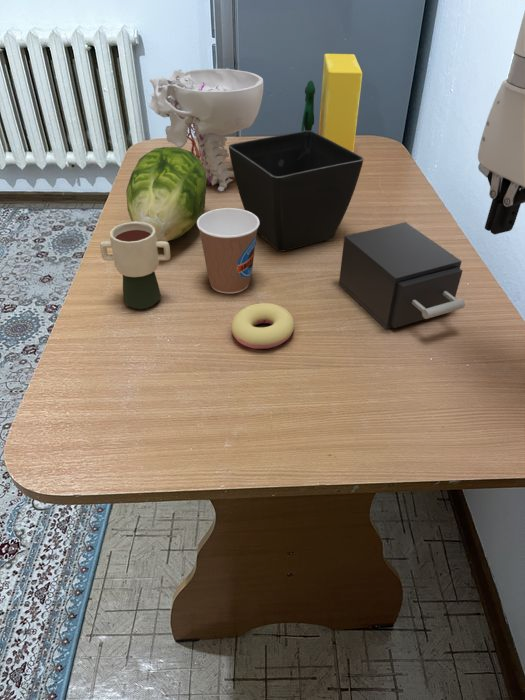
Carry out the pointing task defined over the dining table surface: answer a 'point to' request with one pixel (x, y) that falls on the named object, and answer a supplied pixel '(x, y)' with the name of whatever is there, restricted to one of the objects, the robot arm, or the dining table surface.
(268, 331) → the donut
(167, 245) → the character mug
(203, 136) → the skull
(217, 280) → the coffee cup
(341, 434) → the dining table surface
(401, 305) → the dark grey drawer
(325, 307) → the dining table surface
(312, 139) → the flower pot
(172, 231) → the lettuce
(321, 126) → the yellow and green pieces
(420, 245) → the dark grey drawer cabinet
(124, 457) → the dining table surface
